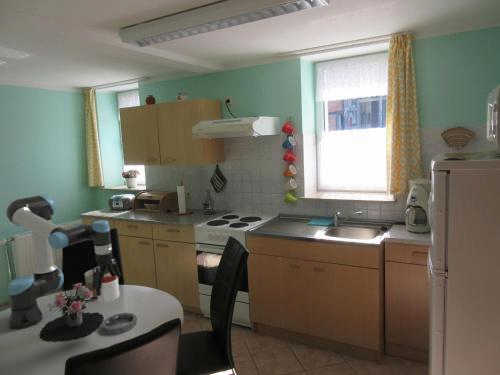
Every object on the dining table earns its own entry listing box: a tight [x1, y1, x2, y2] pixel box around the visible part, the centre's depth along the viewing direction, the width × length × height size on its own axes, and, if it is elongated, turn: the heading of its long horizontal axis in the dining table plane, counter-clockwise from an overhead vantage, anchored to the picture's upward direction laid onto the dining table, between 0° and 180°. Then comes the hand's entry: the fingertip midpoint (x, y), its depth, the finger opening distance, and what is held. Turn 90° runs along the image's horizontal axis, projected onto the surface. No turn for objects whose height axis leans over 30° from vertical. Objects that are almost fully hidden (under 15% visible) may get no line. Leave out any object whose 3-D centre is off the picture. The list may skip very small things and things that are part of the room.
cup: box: [101, 276, 121, 303], centre depth 181 cm, size 10×10×10 cm
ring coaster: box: [101, 312, 138, 335], centre depth 186 cm, size 16×16×3 cm
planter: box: [84, 268, 111, 299], centre depth 227 cm, size 16×16×14 cm
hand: (108, 296), depth 182 cm, fingers closed on cup, 10 cm apart
